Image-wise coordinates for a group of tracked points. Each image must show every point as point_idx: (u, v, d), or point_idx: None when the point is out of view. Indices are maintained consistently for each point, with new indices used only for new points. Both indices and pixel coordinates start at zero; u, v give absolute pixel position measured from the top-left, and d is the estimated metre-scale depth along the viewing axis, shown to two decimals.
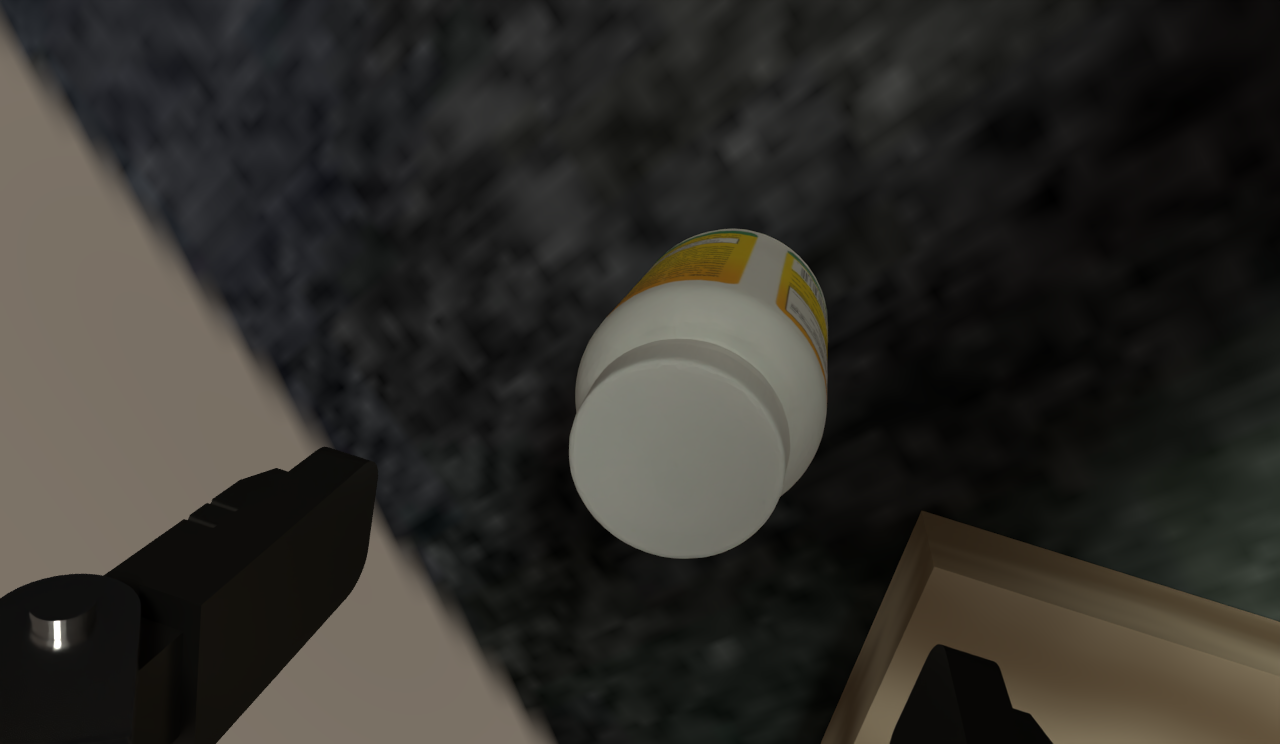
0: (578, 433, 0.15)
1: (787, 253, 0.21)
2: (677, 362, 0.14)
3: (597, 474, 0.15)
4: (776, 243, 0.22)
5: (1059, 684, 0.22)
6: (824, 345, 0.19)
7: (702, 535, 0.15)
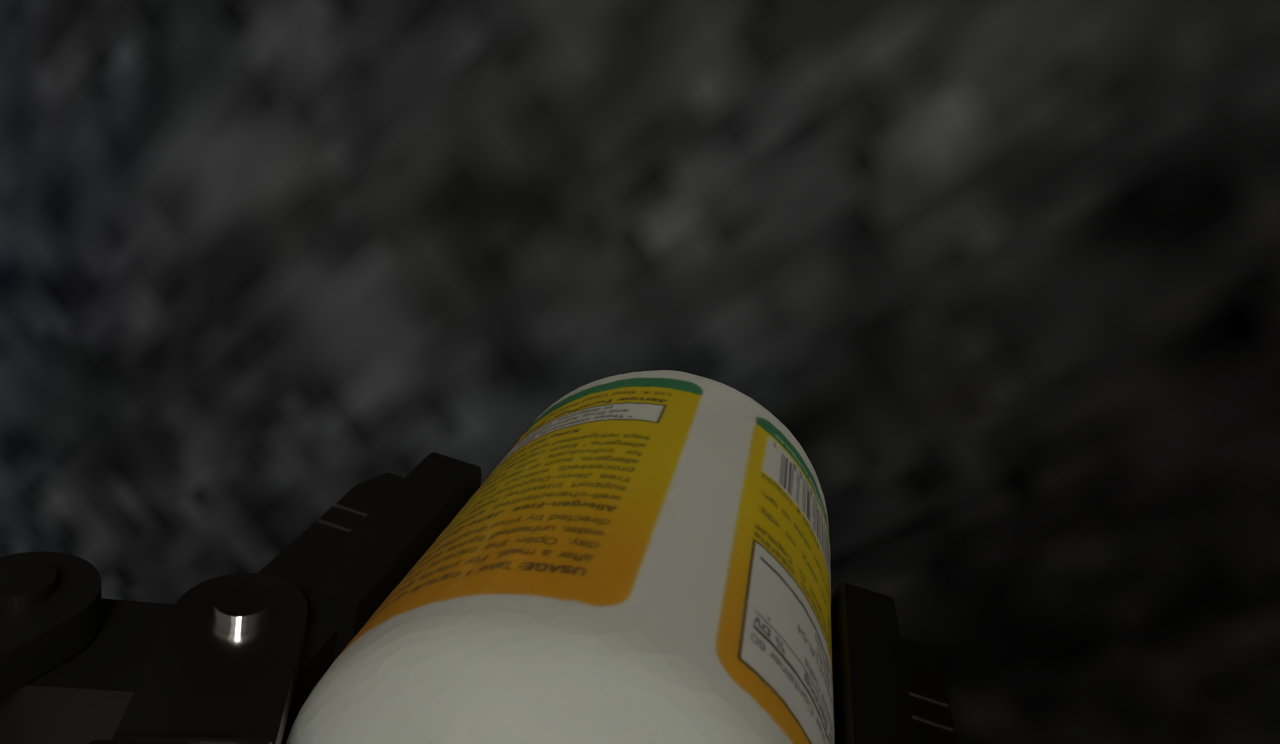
0: None
1: (755, 427, 0.12)
2: None
3: None
4: (736, 403, 0.12)
5: None
6: (827, 660, 0.09)
7: None
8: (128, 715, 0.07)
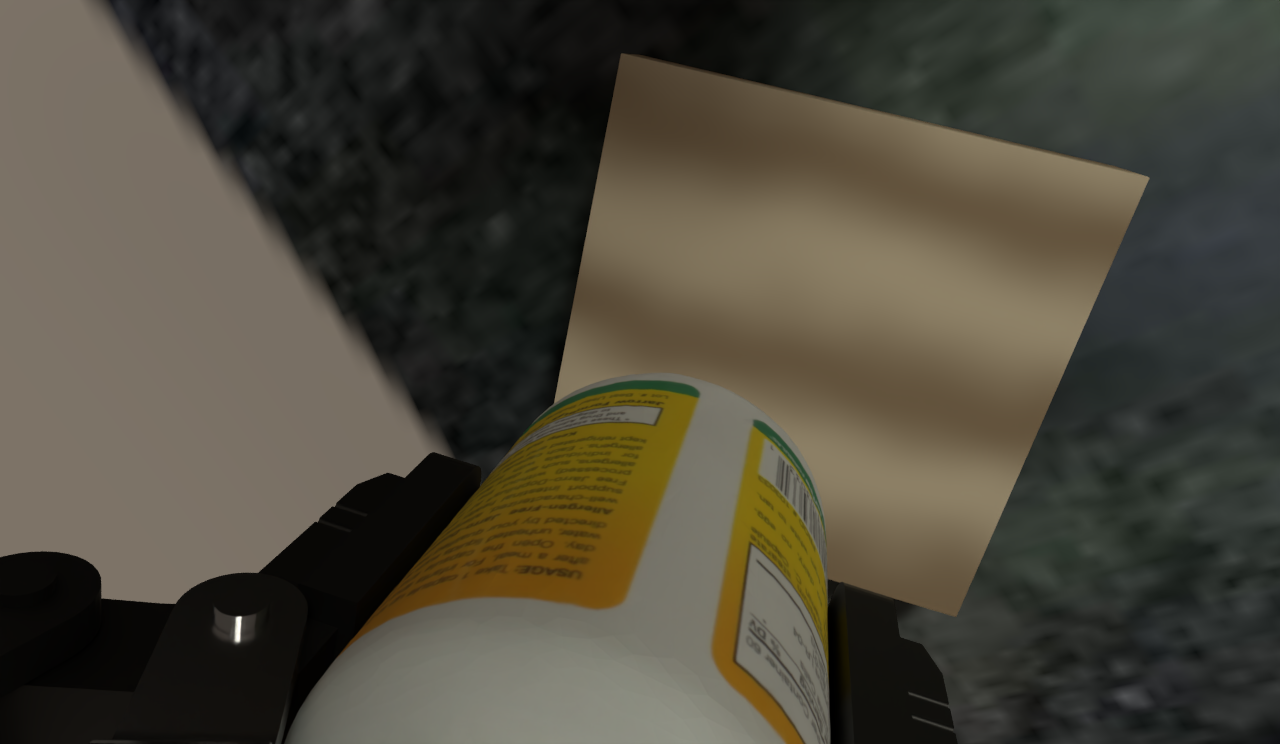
0: None
1: (752, 429, 0.12)
2: None
3: None
4: (733, 406, 0.12)
5: (734, 158, 0.26)
6: (823, 662, 0.09)
7: None
8: (129, 716, 0.07)
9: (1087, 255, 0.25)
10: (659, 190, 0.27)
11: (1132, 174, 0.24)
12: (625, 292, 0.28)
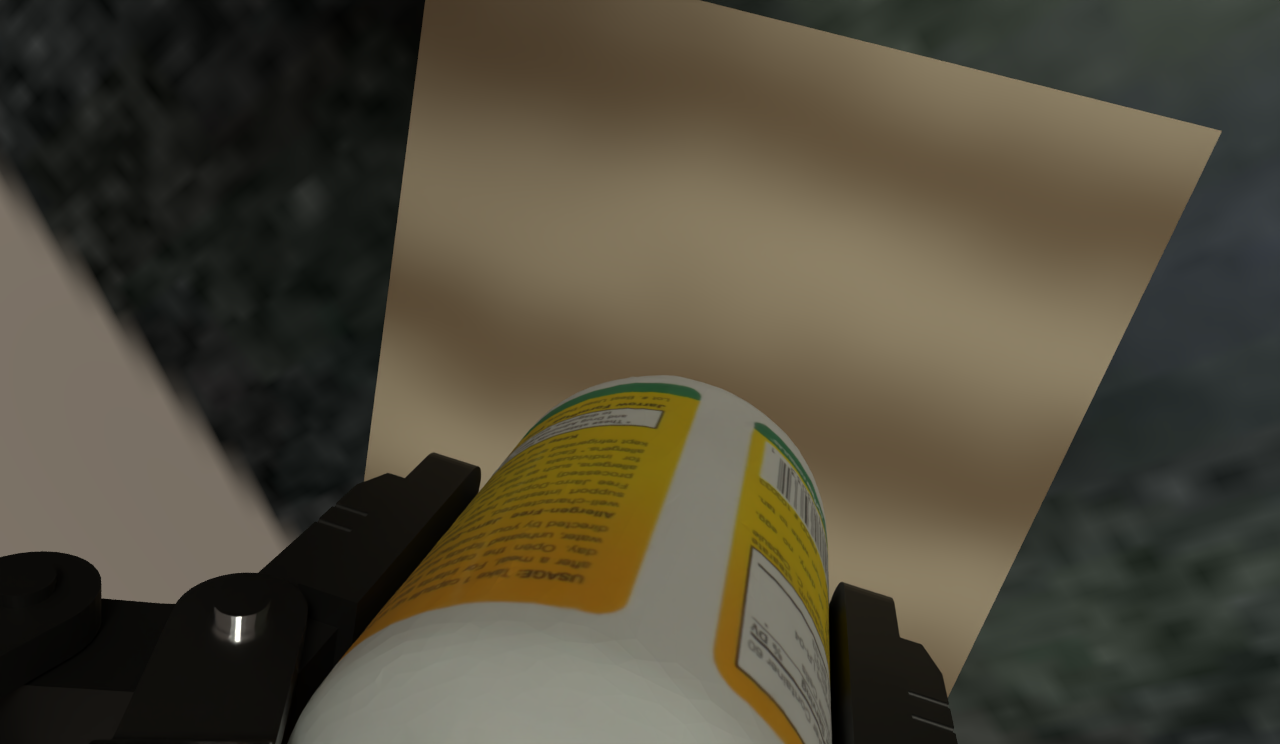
0: None
1: (753, 432, 0.12)
2: None
3: None
4: (734, 408, 0.12)
5: (603, 96, 0.18)
6: (824, 666, 0.09)
7: None
8: (128, 716, 0.07)
9: (1122, 249, 0.17)
10: (497, 143, 0.19)
11: (1195, 126, 0.16)
12: (458, 290, 0.20)
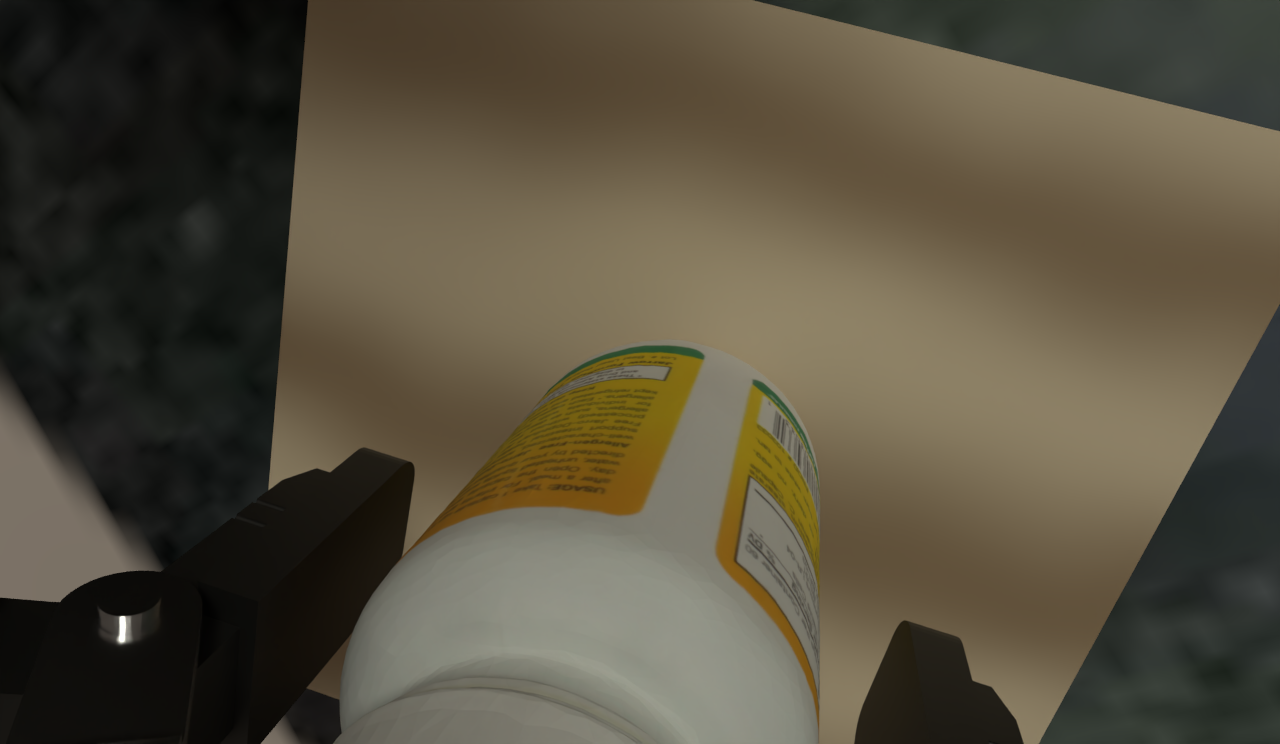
0: None
1: (752, 387, 0.13)
2: None
3: None
4: (734, 367, 0.14)
5: (540, 103, 0.14)
6: (813, 580, 0.11)
7: None
8: (17, 728, 0.06)
9: (1220, 307, 0.13)
10: (407, 164, 0.14)
11: None
12: (365, 348, 0.16)
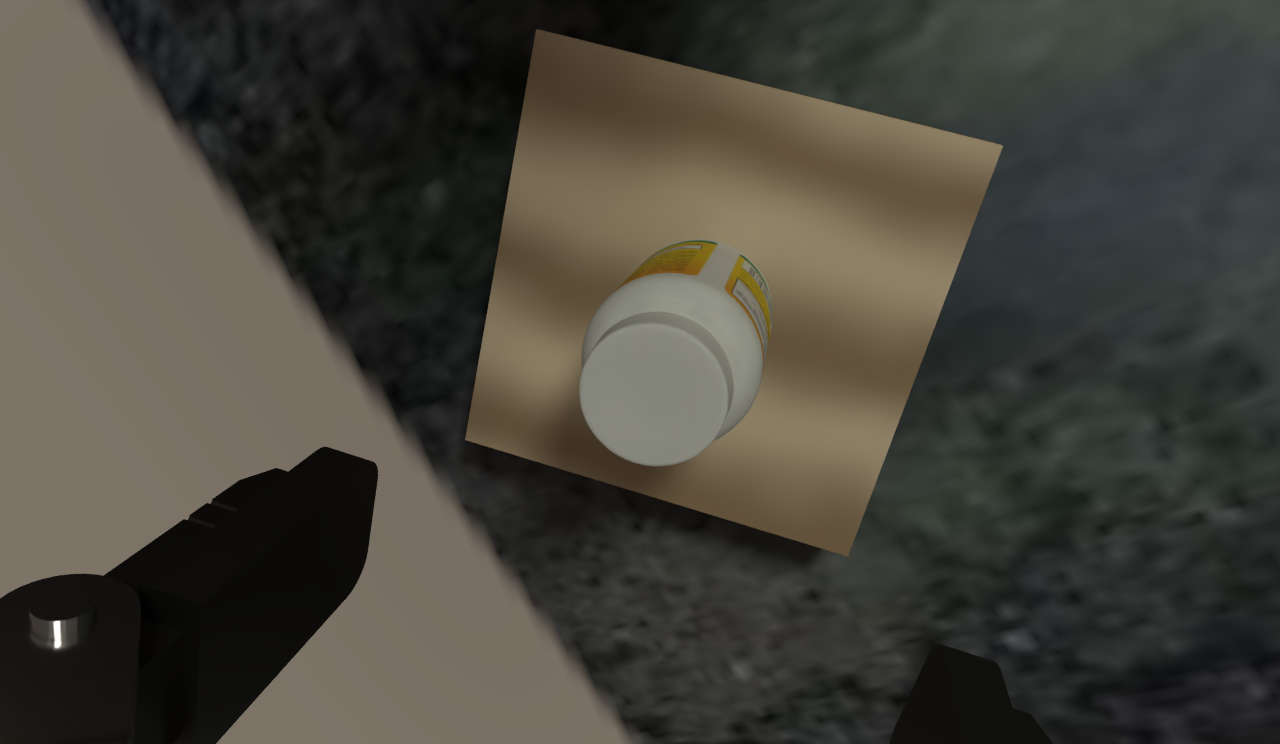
0: (585, 378, 0.22)
1: (739, 256, 0.28)
2: (652, 325, 0.21)
3: (599, 407, 0.22)
4: (731, 249, 0.29)
5: (638, 126, 0.29)
6: (764, 321, 0.26)
7: (673, 448, 0.22)
8: None
9: (952, 216, 0.28)
10: (572, 155, 0.30)
11: (988, 142, 0.27)
12: (543, 250, 0.31)
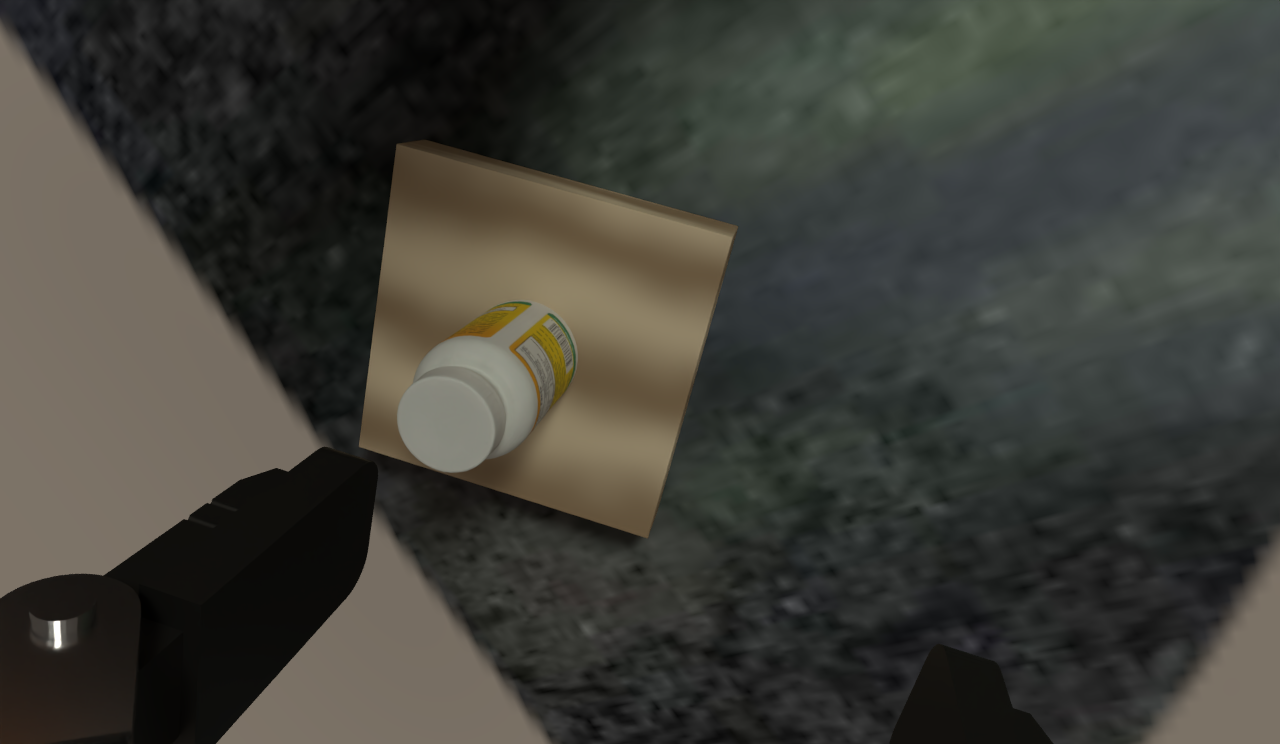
0: (400, 411, 0.32)
1: (546, 314, 0.38)
2: (441, 377, 0.31)
3: (411, 432, 0.32)
4: (542, 308, 0.39)
5: (474, 216, 0.39)
6: (549, 367, 0.36)
7: (461, 460, 0.32)
8: None
9: (701, 287, 0.38)
10: (427, 236, 0.40)
11: (722, 235, 0.37)
12: (410, 304, 0.41)
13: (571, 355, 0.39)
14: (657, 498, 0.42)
